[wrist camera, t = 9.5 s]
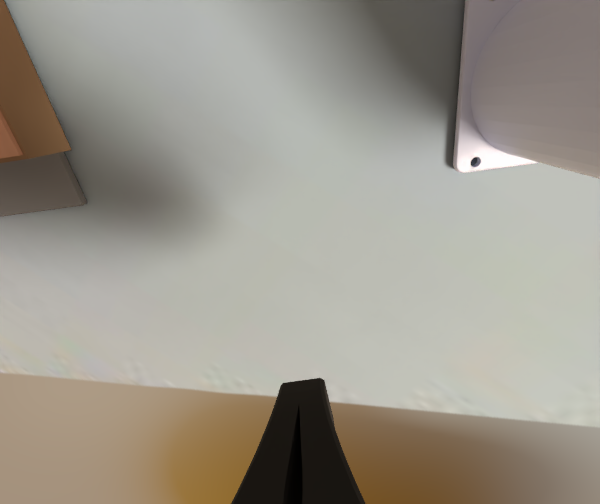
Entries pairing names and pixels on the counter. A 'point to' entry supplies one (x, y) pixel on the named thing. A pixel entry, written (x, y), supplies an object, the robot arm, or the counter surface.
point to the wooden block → (23, 102)
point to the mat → (38, 185)
